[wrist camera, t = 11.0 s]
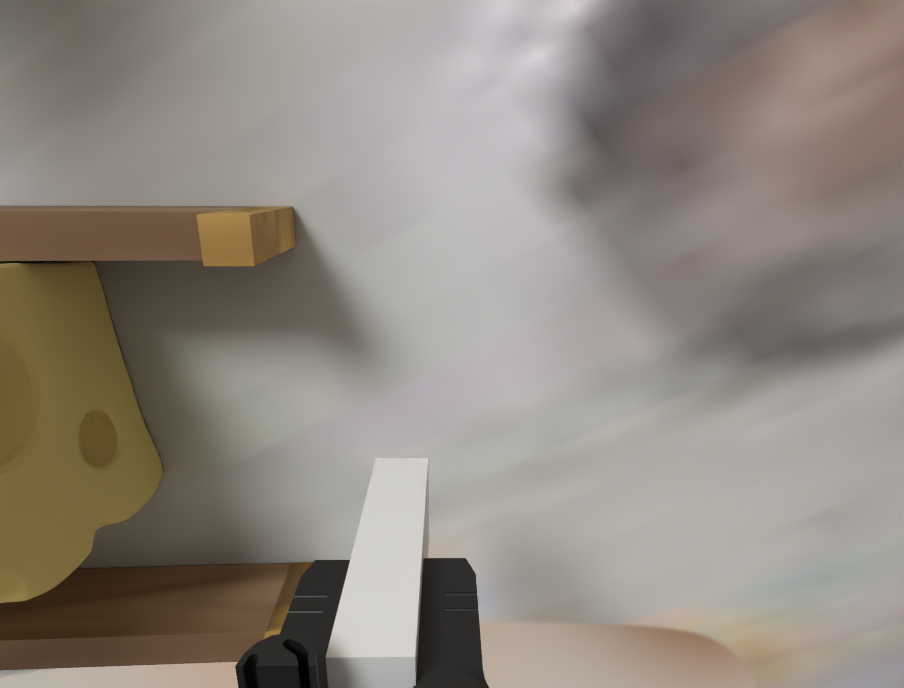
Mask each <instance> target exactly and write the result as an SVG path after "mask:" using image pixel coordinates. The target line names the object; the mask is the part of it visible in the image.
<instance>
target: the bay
mask: <svg viewBox="0 0 904 688" xmlns="http://www.w3.org/2000/svg"><path fill="white" fill-rule="evenodd" d="M295 246H296V238H295V226H294V214H293V207H215V206H0V261H203V266H256V265H258V264H260V263H262V262H264V261H266V260H268V259H271V258H273V257H275V256H277V255H279V254H281V253H283V252H285V251H287V250H289V249H291V248H293V247H295ZM312 564H313V562H306V563H270V564H234V565H198V566H162V567H127V568H91V569H75V570H74V571H73V572H72V573H71V574H70V575H69V576H68V577H67V578H66V579H64V580H63V581H62V582H61V583H59V584H58V585H57V586H55V587H54V588H52V589H51V590H49V591H47V592H45V593H43V594H41V595H39V596H36V597H34V598H31V599H29V600H26V601H18V602H4V603H0V670H19V669H47V668H74V667H100V666H101V667H102V666H129V665H156V664H184V663H209V662H210V663H211V662H239V660H240V659H241V657H242V655H243V654H244V653H245V652H246V651H247V650H248V649H250V648H251V647H252V646H253V645H254V644H256V643H257V642H259V641H261V640H263V639H265V638H267V637H270V636H272V635H277V634H280V632H281V629H282V626H283V624H284V621H285V618H286V615H287V614H288V610H289V607H290V605H291V602H292V599H293V598H294V594H295V591H296V588H297V585H298V583H299V580H300V577H301V575H302V574H303V573H304V572H305V571H306V570H307V569H308V568H309V567H310V566H311V565H312Z"/></svg>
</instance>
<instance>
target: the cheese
mask: <svg viewBox="0 0 904 688" xmlns="http://www.w3.org/2000/svg"><path fill="white" fill-rule="evenodd" d="M162 476H163V467H162V463H161V460H160V457H159V455H158V452H157V450H156V448H155V445H154V443H153V441H152V439H151V436H150V434H149V432H148V430H147V428H146V426H145V423H144V421H143V418H142V415H141V412H140V409H139V406H138V404H137V401H136V398H135V395H134V391H133V387H132V384H131V381H130V378H129V375H128V372H127V369H126V366H125V363H124V360H123V357H122V354H121V350H120V347H119V344H118V341H117V337H116V334H115V331H114V327H113V324H112V321H111V318H110V314H109V311H108V307H107V303H106V300H105V296H104V293H103V289H102V285H101V282H100V279H99V276H98V273H97V270H96V267H95V265H94V263H93V262H91V261H69V262H58V263H8V264H0V603H4V602H18V601H26V600H29V599H31V598H34V597H36V596H39V595H41V594H43V593H45V592H47V591H49V590H51V589H52V588H54V587H55V586H57V585H58V584H59V583H61V582H62V581H63V580H64V579H66V578H67V577H68V576H69V575H70V574H71V573H72V572H73V571H74V570H75V569H76V568H77V567H78V566H79V565H80V564H81V563H82V562H83V561H84V560H85V559H86V557H87V556H88V555H89V554H90V552H91V551H92V547H93V540H94V537H95V533H96V530H97V529H99V528H101V527H103V526H106V525H110V524H116V523H120V522H121V521H124V520H128V519H129V518H130V517H131V516H133V515H134V514H135V513H137V512H138V511H139V510H140V509H141V508H142V507H143V506H144V505H145V504H146V503H147V502H148V501H149V500H150V499H151V498H152V496H153V495H154V493H155V492H156V490H157V488H158V486H159V484H160V481H161V478H162Z"/></svg>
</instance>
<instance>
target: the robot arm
mask: <svg viewBox="0 0 904 688" xmlns="http://www.w3.org/2000/svg"><path fill="white" fill-rule="evenodd" d="M428 546H429V497H428V458H376V460H375V464H374V468H373V472H372V476H371V480H370V484H369V488H368V492H367V496H366V500H365V504H364V508H363V512H362V516H361V519H360V523H359V527H358V531H357V535H356V539H355V543H354V547H353V551H352V555H351V559H350V560H315V561H314V562H313V564H312V565H311V566H310V567H309V568H308V569H307V570H306V571H305V572H304V573H303V574H302V575H301V577H300V580H299V583H298V585H297V588H296V591H295V594H294V598H293V599H292V602H291V605H290V607H289V610H288V614H287V615H286V618H285V621H284V624H283V626H282V629H281V632H280V634H277V635H272V636H270V637H267V638H265V639H263V640H261V641H259V642H257V643H256V644H254V645H253V646H252V647H251V648H250V649H248V650H247V651H246V652H245V653H244V654H243V655H242V657H241V659H240V660H239V662H238V663H237V665H236V666H235V667H236V674H237V680H238V687H239V688H489V687H488V685H487V683H486V681H485V678H484V673H483V666H482V654H481V640H480V626H479V613H478V599H477V586H476V574H475V572H474V571H473V569H472V568H471V566H470V564H469V563H468V561H467V560H466V558H428Z"/></svg>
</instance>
